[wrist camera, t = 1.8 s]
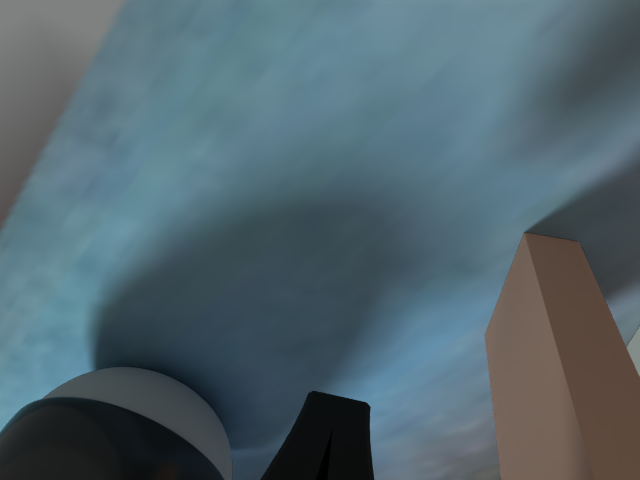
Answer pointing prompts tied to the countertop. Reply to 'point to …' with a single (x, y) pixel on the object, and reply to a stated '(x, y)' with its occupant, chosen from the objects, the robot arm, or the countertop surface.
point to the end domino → (560, 371)
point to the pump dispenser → (116, 432)
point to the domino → (635, 350)
